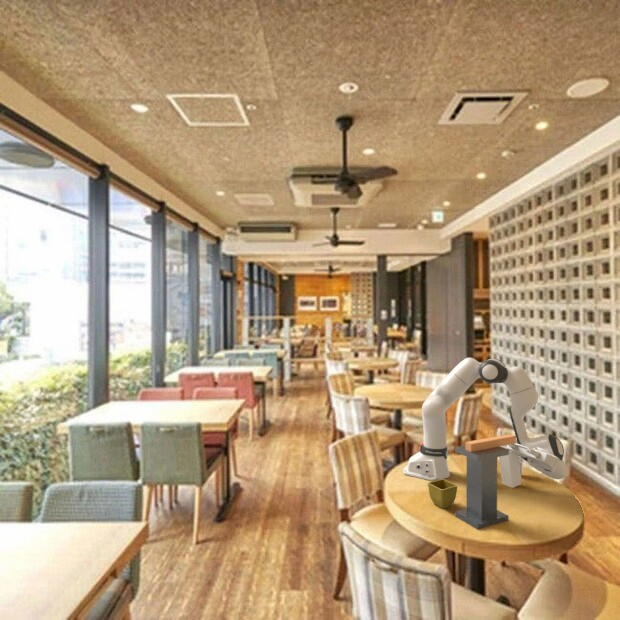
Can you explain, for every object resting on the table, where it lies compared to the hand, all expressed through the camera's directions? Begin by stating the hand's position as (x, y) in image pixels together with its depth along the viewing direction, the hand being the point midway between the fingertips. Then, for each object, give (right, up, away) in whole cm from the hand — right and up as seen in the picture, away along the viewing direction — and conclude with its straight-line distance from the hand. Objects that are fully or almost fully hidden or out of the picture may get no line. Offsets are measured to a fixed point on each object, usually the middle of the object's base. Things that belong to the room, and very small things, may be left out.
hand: (518, 446), depth 194 cm
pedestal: (-18, -26, -8) cm, 33 cm away
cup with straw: (+15, -25, +36) cm, 46 cm away
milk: (+8, -25, +25) cm, 36 cm away
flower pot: (-30, -26, +4) cm, 40 cm away
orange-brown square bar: (-14, +2, -7) cm, 16 cm away
